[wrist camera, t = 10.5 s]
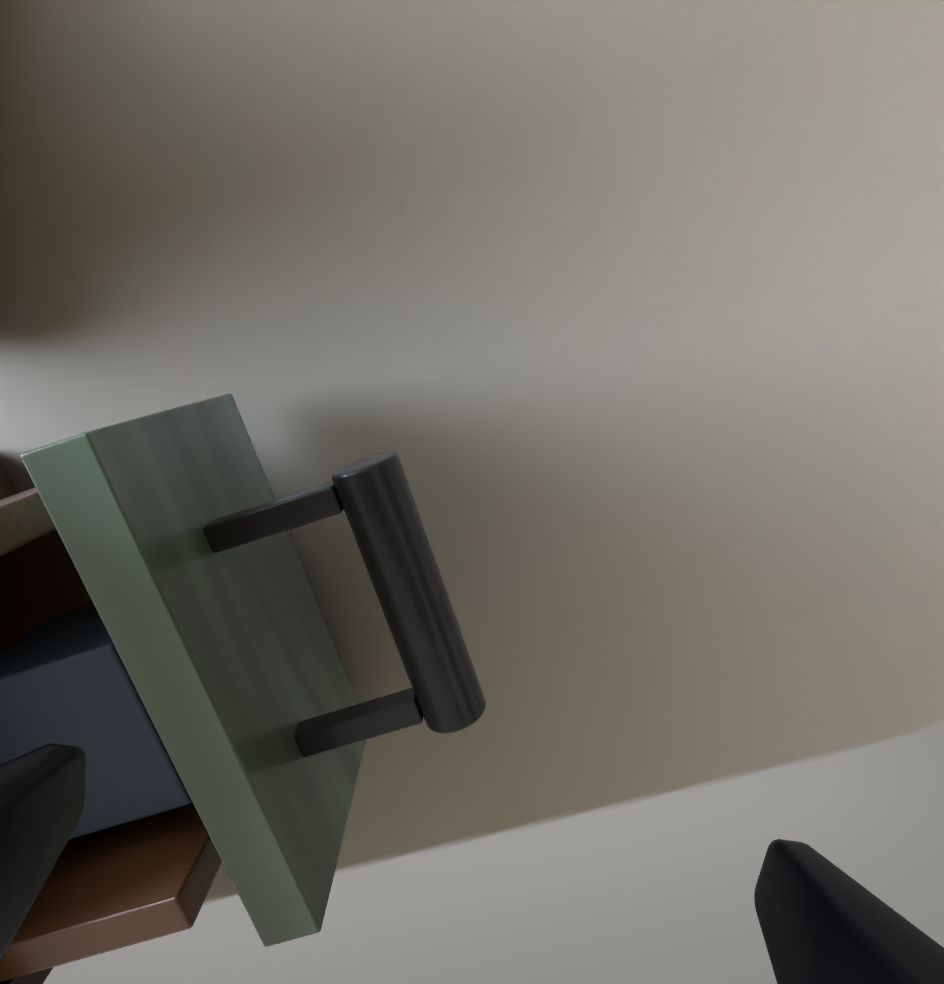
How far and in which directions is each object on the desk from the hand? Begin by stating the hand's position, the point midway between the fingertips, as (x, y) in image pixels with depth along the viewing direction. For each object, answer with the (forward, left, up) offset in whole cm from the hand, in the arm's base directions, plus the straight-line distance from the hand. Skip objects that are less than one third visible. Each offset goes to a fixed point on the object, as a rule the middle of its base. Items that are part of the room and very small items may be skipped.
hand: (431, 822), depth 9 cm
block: (-2, +8, -7) cm, 11 cm away
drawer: (+1, +8, -10) cm, 13 cm away
